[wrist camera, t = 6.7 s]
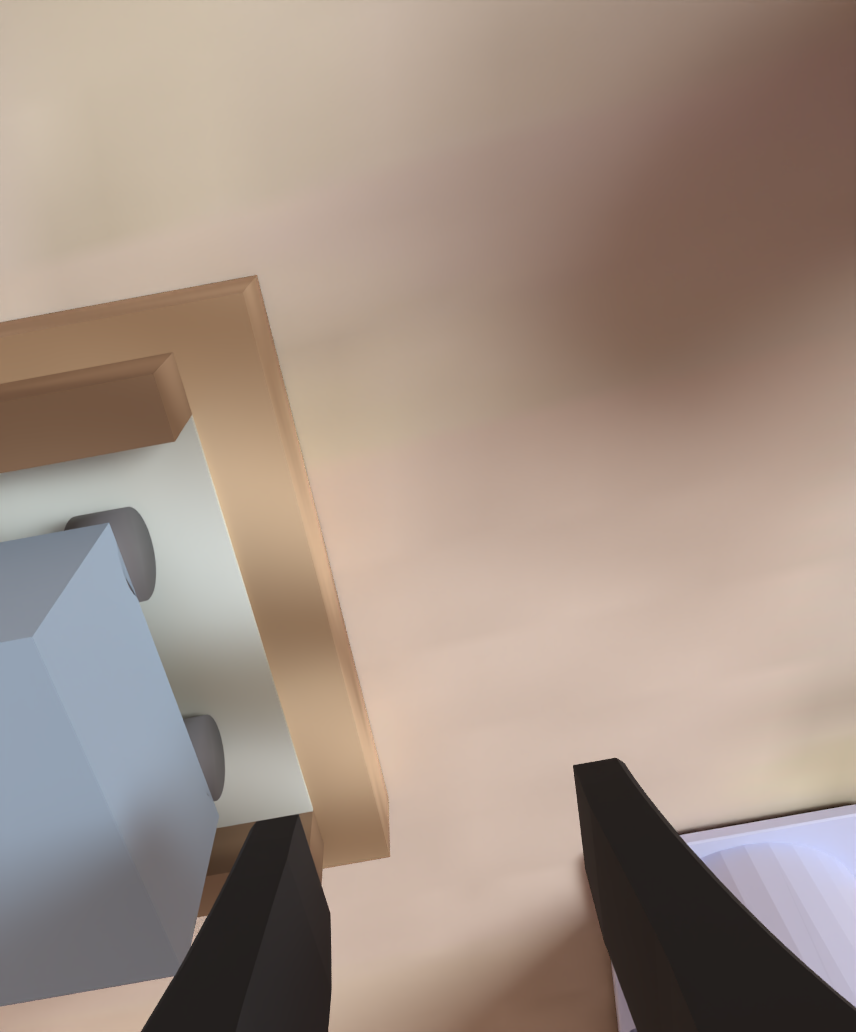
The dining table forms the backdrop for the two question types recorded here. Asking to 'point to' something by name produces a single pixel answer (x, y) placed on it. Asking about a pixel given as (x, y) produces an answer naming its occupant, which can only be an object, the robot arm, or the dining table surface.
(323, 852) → the dock
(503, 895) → the dining table surface
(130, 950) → the blue block with feet
